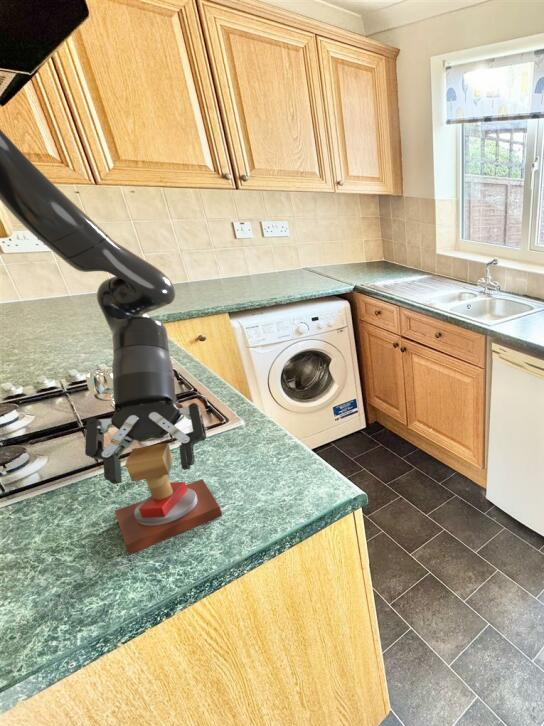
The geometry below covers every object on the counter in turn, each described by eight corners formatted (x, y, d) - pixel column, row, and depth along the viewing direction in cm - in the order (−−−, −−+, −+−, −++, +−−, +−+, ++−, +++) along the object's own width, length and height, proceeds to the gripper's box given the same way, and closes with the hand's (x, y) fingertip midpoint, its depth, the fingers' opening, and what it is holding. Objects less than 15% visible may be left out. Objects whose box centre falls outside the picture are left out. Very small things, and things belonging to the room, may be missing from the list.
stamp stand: (129, 554, 62) (125, 545, 61) (118, 519, 68) (114, 510, 67) (222, 515, 70) (219, 506, 69) (205, 487, 76) (202, 478, 75)
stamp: (180, 524, 65) (160, 467, 61) (123, 527, 64) (98, 469, 60) (207, 491, 73) (190, 438, 68) (155, 493, 71) (135, 439, 67)
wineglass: (126, 427, 92) (107, 378, 87) (96, 428, 91) (75, 378, 86) (142, 414, 97) (125, 367, 92) (114, 415, 96) (95, 367, 91)
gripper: (73, 377, 62) (77, 484, 58) (191, 364, 68) (202, 459, 64) (97, 394, 68) (102, 491, 64) (202, 381, 75) (213, 468, 71)
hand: (152, 475), depth 64 cm, fingers open, 8 cm apart
